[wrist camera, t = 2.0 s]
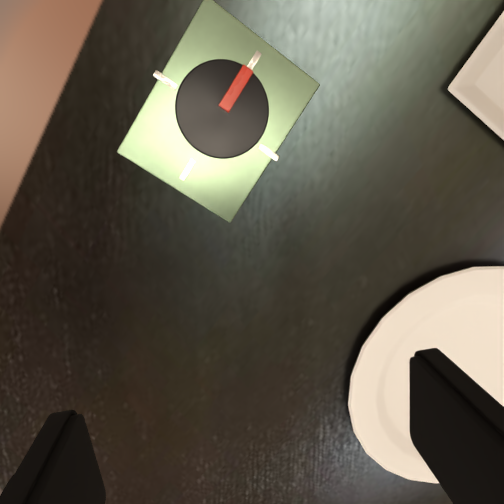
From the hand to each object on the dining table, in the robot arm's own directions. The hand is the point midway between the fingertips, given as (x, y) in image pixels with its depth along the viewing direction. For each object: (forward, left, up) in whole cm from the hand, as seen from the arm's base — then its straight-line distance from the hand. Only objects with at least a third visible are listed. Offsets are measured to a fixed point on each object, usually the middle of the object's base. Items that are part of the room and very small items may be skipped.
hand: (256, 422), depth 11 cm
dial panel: (+1, +9, -18) cm, 20 cm away
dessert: (+25, +10, -18) cm, 32 cm away
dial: (+1, +9, -15) cm, 17 cm away
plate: (+19, -14, -18) cm, 30 cm away
